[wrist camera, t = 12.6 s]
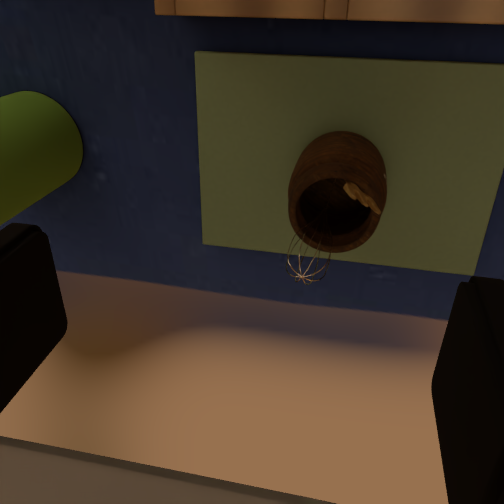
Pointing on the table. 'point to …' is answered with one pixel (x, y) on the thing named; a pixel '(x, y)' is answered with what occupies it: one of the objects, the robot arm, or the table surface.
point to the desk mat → (363, 123)
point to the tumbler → (34, 150)
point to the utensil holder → (336, 194)
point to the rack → (343, 9)
